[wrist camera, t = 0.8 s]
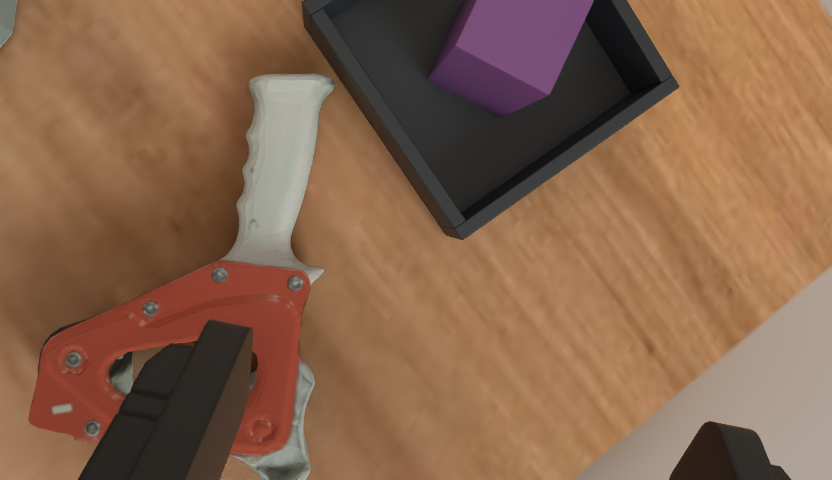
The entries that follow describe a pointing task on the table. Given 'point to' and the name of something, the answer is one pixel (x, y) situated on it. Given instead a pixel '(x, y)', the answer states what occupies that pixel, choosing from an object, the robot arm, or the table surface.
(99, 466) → the robot arm
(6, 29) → the disposable coffee cup
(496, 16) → the plum block
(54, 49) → the table surface
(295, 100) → the tape dispenser
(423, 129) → the tray
